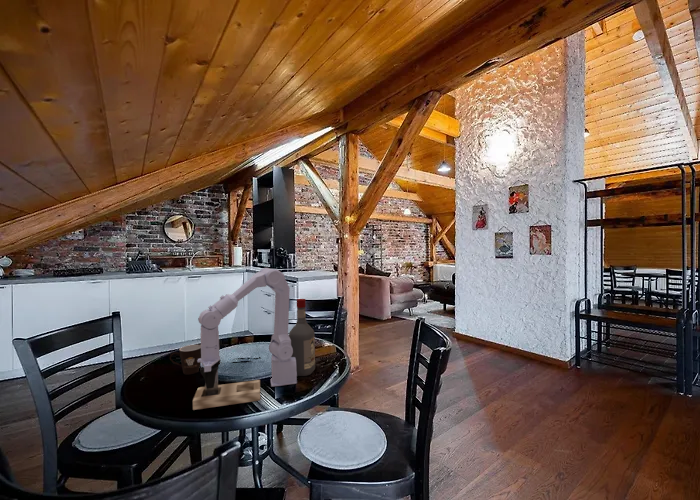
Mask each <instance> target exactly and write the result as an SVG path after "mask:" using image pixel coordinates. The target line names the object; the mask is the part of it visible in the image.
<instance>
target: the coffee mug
mask: <svg viewBox="0 0 700 500" xmlns="http://www.w3.org/2000/svg"><path fill="white" fill-rule="evenodd" d="M173 355H177V356H179V357H180V362H181V364H180V363H179V362H176V361H175V360H173V359H172V357H173ZM199 358H201V344H189V345H185V346H182V347H180V348H179V352H176V351H175V352H172V353H170V354H169V360H170V362H172V363H173V364H175V365H176V366H180V367H181V368H182V374H184V375H193V374H197V373H199V372H200V371H199V367H200V368H201V365H202V363H201V362H197V360H198V359H199Z"/></svg>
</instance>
